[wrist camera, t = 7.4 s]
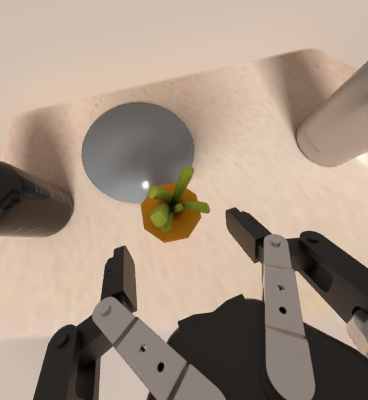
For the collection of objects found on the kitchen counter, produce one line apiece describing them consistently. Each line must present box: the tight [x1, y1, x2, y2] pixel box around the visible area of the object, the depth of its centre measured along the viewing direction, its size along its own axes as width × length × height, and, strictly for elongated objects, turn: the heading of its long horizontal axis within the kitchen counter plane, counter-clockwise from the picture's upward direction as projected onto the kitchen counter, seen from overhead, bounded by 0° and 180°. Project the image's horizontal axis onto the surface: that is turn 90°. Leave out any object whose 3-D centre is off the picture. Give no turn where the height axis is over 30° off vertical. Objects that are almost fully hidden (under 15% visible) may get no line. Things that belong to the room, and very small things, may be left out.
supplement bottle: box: [0, 161, 73, 237], centre depth 17 cm, size 7×7×12 cm
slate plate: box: [82, 103, 194, 203], centre depth 26 cm, size 16×16×1 cm
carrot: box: [141, 166, 210, 243], centre depth 16 cm, size 5×5×15 cm
